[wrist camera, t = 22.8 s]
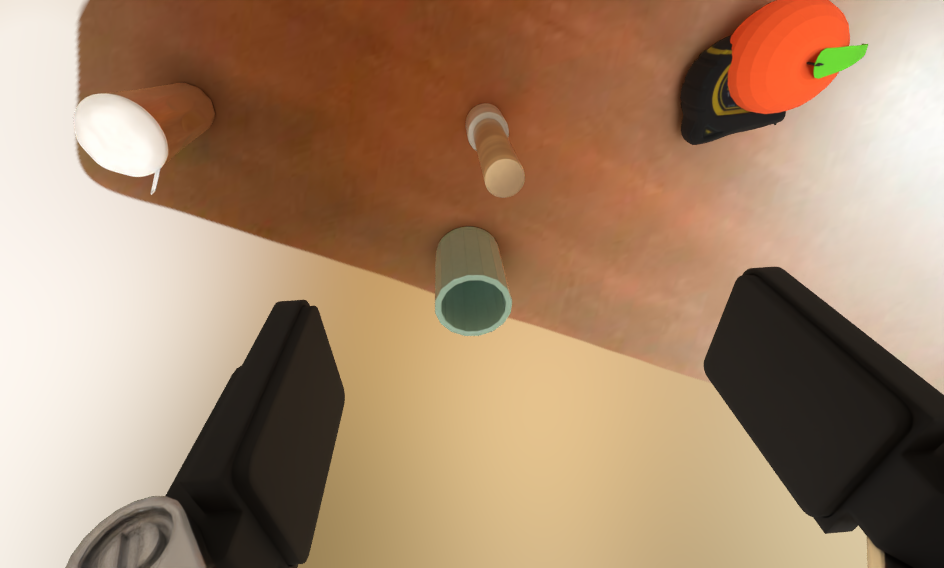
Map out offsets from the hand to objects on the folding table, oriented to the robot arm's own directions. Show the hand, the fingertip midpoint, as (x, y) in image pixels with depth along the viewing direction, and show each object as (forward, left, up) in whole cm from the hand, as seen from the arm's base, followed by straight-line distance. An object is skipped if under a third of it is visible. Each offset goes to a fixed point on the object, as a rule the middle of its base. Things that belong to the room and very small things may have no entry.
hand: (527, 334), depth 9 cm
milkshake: (-13, -15, -26) cm, 33 cm away
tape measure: (+13, +15, -26) cm, 33 cm away
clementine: (+12, +18, -26) cm, 34 cm away
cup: (+10, -9, -26) cm, 30 cm away
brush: (+2, 0, -26) cm, 26 cm away
